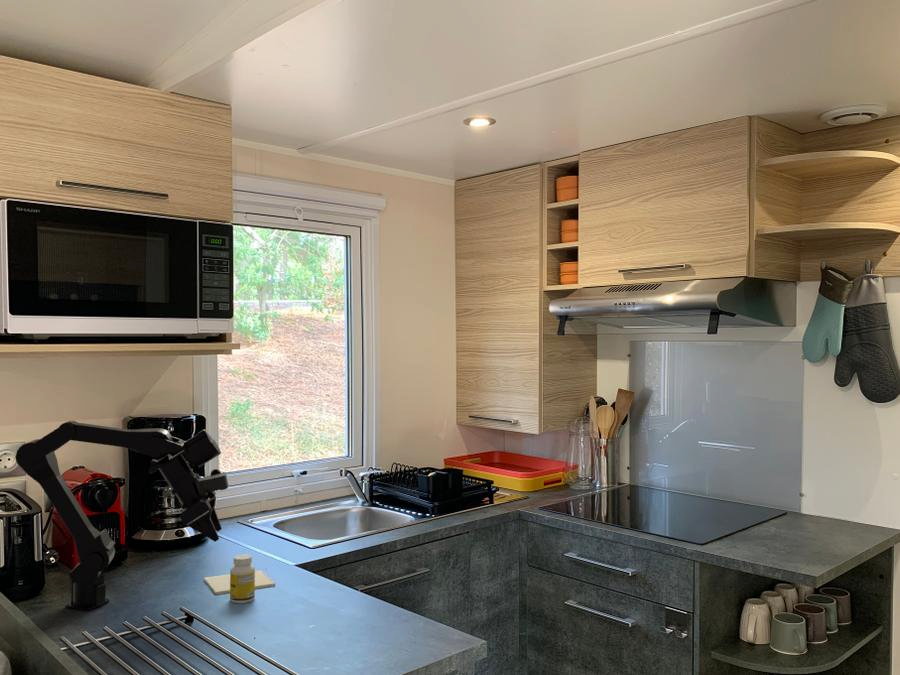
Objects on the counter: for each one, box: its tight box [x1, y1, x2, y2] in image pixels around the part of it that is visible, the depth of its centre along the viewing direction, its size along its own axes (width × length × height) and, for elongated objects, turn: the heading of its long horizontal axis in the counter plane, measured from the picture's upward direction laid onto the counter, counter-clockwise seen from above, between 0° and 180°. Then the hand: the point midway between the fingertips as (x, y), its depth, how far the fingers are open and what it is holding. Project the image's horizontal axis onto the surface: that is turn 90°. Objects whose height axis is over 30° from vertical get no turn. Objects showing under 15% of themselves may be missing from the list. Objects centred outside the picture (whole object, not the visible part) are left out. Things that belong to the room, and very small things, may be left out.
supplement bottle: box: [229, 553, 256, 604], centre depth 172 cm, size 5×5×10 cm
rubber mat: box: [203, 569, 276, 595], centre depth 184 cm, size 14×12×1 cm
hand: (218, 535), depth 174 cm, fingers open, 9 cm apart
